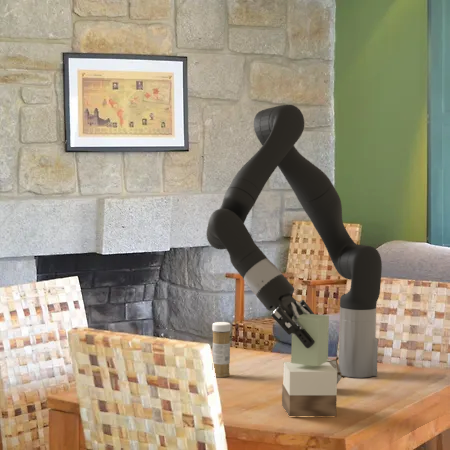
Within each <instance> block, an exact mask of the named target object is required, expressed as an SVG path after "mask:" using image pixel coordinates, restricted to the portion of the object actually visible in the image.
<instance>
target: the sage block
mask: <svg viewBox="0 0 450 450" xmlns="http://www.w3.org/2000/svg"><path fill="white" fill-rule="evenodd" d="M299 316H300V317H298V318H299V319H298V321H299V322H300V323H301V325H302V326H303V329H305V330H306V331H307V333H308V334H309V335H310V336H311V337H312V339H313V340H314V341H315V343H314V344H313V345H312V346H311V347H310V348H306V347H305V346H304V345H303V343H302V342H301V341H300V340H299V338H298V337H297V336H294V335H293V334H292V333H291V348H290V349H291V352H290V353H291V354H290V355H291V356H290V359H291V360H290V362H291V363H295V364H303V365H311V366H319V365H321V364H323V363H325V362H328V359H329V331H330V329H329V326H330V325H329V322H330V316H329V315H327V314H326V315H325V314H315V313H314V314H304V313H303V314H302V315H299ZM293 318H294V316H293V317H292V319H293ZM295 323H296V322H295ZM303 329H302V330H303Z"/></svg>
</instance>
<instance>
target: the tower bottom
mask: <svg viewBox="0 0 450 450" xmlns="http://www.w3.org/2000/svg"><path fill="white" fill-rule="evenodd" d="M281 387H282V390H281V392H282V393H281V407H282V406H283V407H282V408H283V410H284V409H285V410H286V411H285V410H284V411H285V413H286V412H287V413H288V415H289V416H336V417H337V395H289V394H288V392H287V390H286V388H285V387H284V385H283V384H282V386H281ZM287 413H286V414H287ZM288 415H287V416H288ZM289 416H288V417H289Z"/></svg>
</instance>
